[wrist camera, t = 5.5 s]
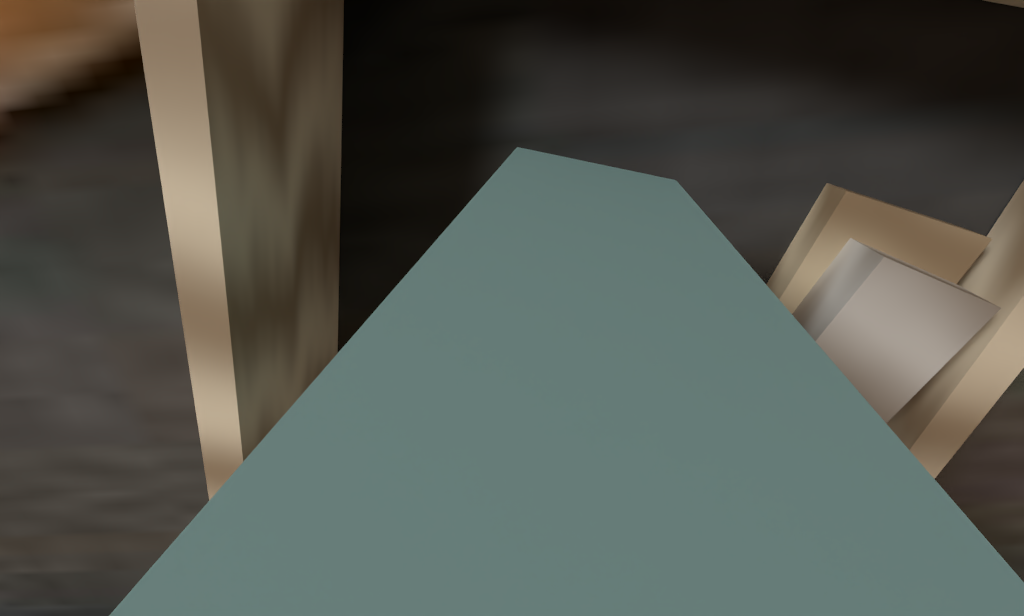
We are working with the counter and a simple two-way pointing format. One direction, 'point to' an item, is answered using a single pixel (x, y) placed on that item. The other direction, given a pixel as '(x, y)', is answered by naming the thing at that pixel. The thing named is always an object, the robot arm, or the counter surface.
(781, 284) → the offcut lower
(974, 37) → the counter surface
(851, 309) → the offcut upper
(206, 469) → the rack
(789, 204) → the counter surface
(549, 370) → the teal rectangular block
